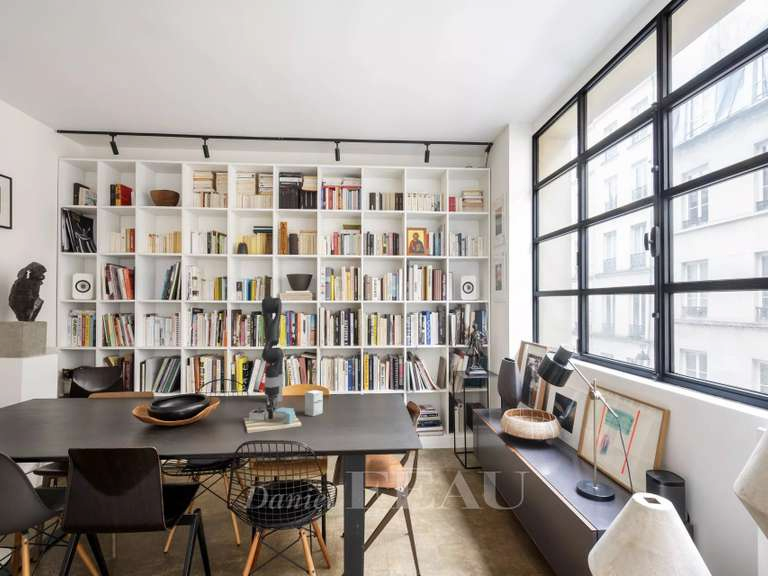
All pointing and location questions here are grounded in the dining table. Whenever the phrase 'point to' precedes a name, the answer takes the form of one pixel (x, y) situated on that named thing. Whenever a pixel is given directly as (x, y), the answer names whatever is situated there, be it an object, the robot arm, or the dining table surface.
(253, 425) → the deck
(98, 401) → the dining table surface
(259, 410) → the cylinder
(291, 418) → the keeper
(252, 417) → the link
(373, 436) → the dining table surface
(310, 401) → the supplement box
